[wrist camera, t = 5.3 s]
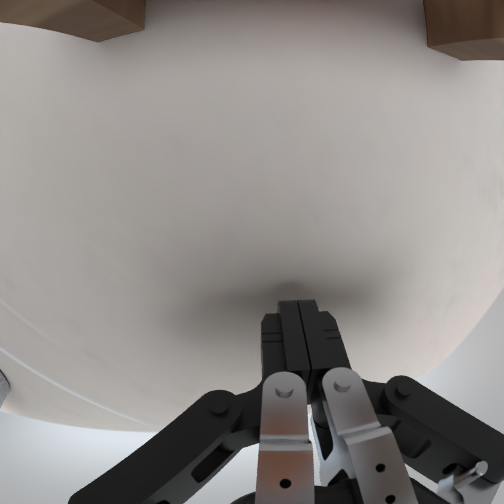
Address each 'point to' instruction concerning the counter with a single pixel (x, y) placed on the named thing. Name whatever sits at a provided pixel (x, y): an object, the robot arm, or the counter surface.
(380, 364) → the counter surface
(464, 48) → the bridge
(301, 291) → the counter surface
